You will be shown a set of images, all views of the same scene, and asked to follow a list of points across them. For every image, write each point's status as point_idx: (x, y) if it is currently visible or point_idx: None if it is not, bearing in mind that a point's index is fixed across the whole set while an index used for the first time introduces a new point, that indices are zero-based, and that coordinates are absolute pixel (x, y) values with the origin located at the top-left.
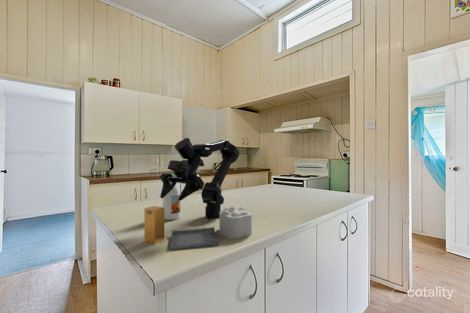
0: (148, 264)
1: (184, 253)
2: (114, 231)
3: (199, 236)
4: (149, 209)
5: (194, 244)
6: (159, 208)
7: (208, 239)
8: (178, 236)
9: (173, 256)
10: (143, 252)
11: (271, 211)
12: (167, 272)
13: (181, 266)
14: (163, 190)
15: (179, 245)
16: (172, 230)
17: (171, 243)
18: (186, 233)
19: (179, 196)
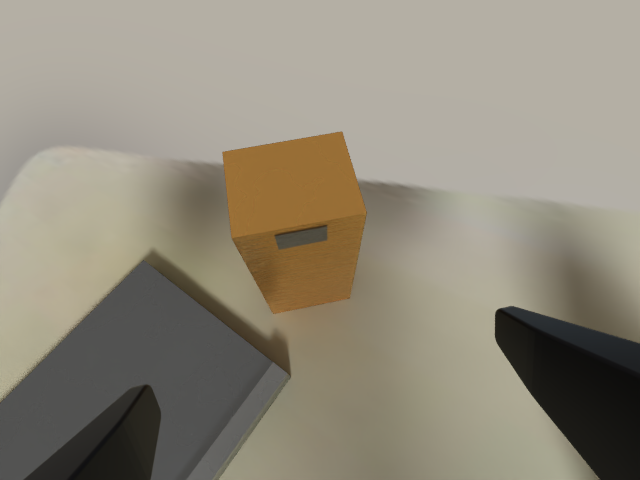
0: (129, 166)
1: (68, 289)
2: (585, 206)
3: None
4: (283, 143)
5: (50, 356)
6: (239, 198)
7: (2, 461)
8: (203, 362)
9: (93, 246)
10: None
11: None
12: (32, 178)
13: (11, 223)
14: (587, 351)
15: (109, 295)
16: (284, 374)
17: (159, 280)
18: (200, 433)
19: (127, 404)
